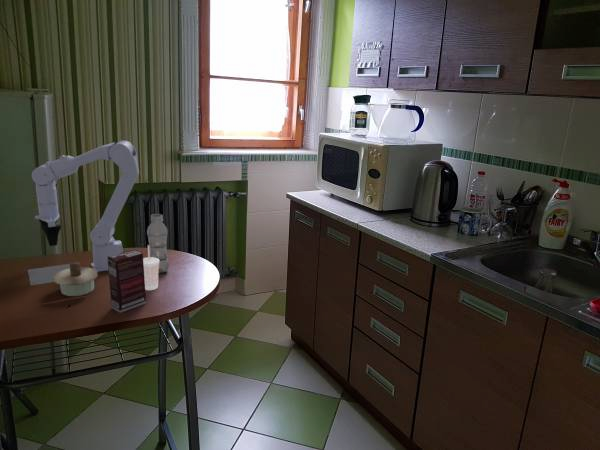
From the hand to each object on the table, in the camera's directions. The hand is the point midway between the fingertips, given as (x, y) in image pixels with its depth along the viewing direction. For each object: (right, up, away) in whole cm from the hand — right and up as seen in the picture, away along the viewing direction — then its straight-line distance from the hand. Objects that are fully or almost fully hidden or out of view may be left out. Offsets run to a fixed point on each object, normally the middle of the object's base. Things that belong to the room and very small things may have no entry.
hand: (52, 241), depth 156 cm
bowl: (+15, -14, -13) cm, 24 cm away
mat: (+2, -11, -3) cm, 11 cm away
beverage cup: (+35, -14, -8) cm, 39 cm away
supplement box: (+33, -18, -21) cm, 43 cm away
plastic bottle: (+34, -11, +4) cm, 36 cm away
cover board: (+15, -10, -14) cm, 23 cm away
